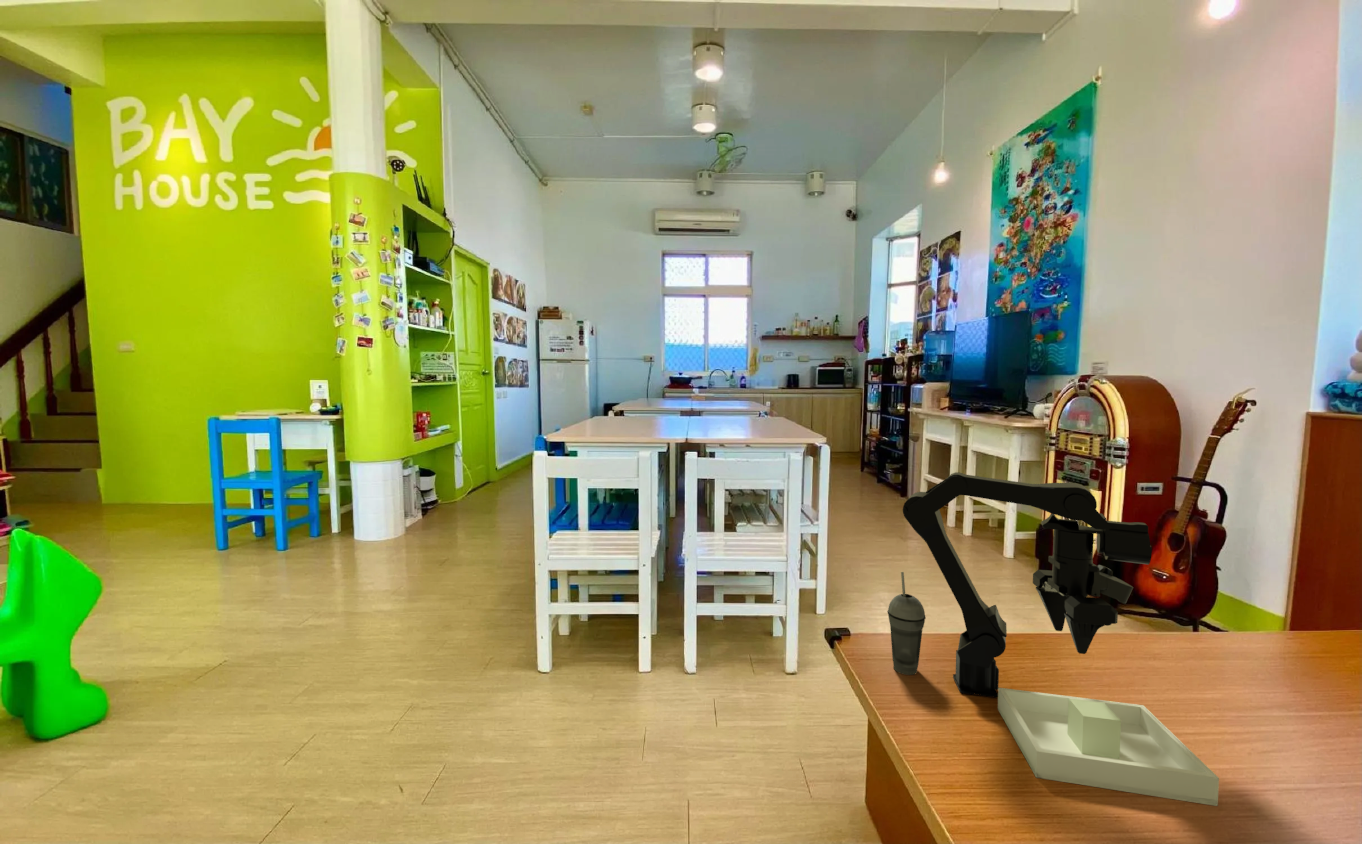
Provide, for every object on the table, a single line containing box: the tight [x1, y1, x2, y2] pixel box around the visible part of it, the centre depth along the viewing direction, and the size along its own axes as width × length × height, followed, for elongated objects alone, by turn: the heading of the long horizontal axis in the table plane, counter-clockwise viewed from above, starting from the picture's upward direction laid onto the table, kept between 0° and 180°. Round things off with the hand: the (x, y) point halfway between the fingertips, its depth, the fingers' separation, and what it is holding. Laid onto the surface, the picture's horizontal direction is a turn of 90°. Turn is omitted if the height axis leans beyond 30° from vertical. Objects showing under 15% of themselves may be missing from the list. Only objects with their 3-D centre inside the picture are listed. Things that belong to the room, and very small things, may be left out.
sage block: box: [1067, 699, 1121, 759], centre depth 85 cm, size 5×5×6 cm
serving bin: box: [997, 687, 1220, 807], centre depth 85 cm, size 22×18×4 cm
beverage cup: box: [887, 571, 927, 676], centre depth 111 cm, size 7×7×20 cm
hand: (1069, 641), depth 96 cm, fingers open, 9 cm apart
